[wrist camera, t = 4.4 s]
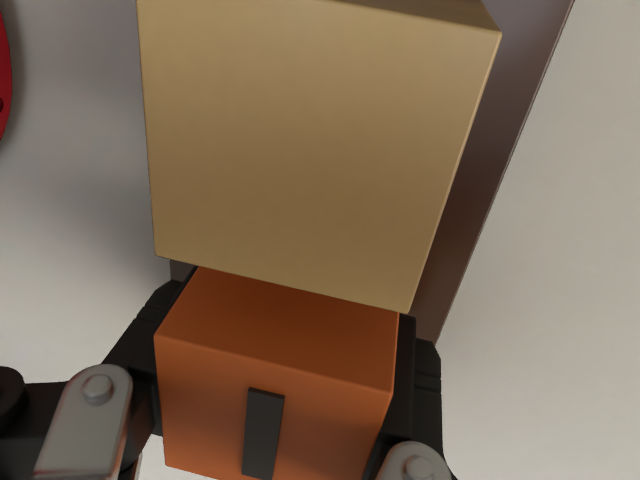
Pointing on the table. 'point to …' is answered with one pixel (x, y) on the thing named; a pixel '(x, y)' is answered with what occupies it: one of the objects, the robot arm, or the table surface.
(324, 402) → the orange slotted cube
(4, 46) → the alarm clock
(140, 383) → the robot arm
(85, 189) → the table surface
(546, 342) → the table surface
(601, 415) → the table surface
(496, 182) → the tray
